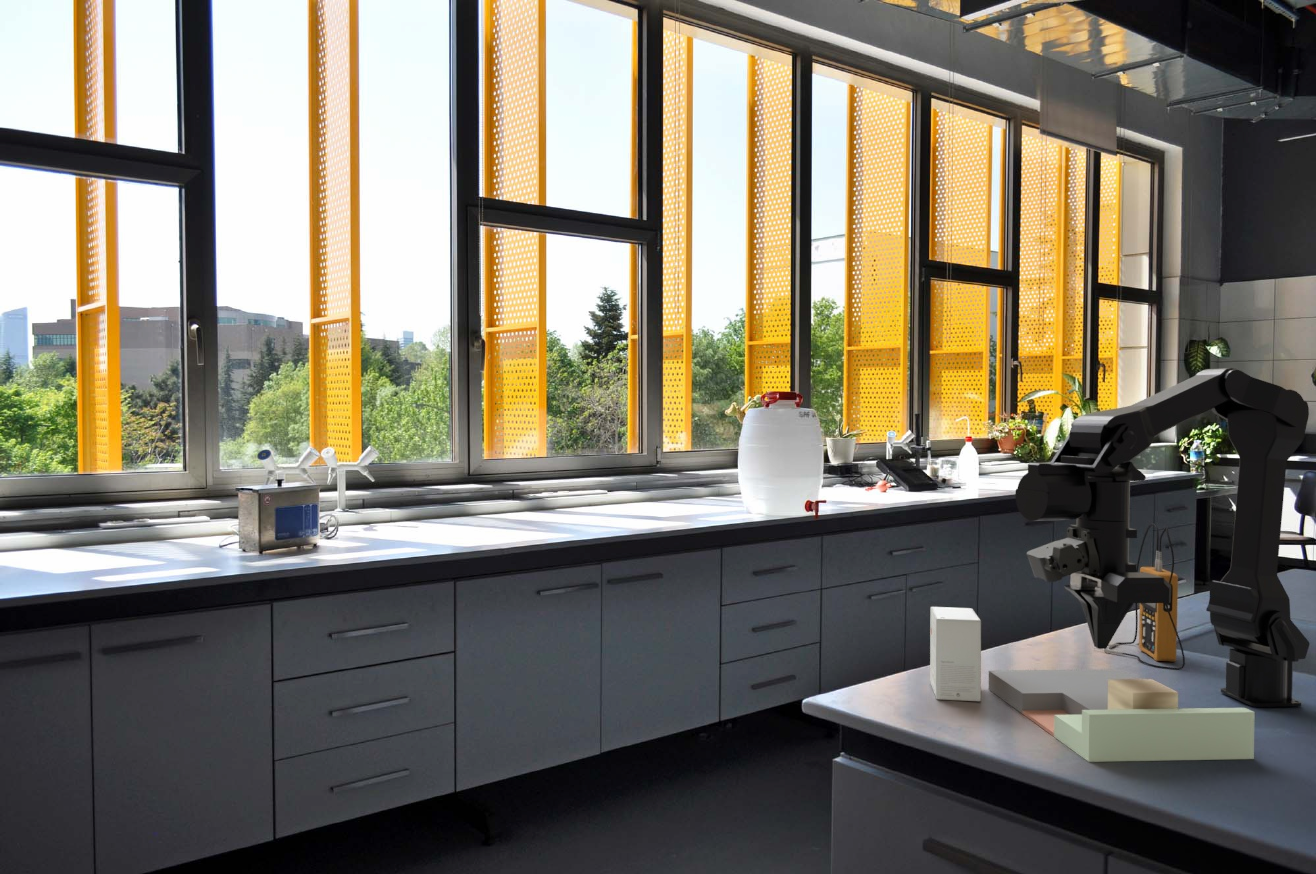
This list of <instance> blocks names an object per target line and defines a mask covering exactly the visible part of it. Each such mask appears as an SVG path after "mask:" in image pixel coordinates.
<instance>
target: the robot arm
mask: <svg viewBox="0 0 1316 874" xmlns="http://www.w3.org/2000/svg"><path fill="white" fill-rule="evenodd" d="M1209 410H1211V412H1212V413H1213V414H1215V415H1217V416H1218V417H1220V418H1222V419H1224V420H1226V421H1227V434H1228V439H1229V440H1230V442H1231V444H1232V446H1233V447H1234V449H1235V452H1236V453H1237V455H1238V456H1239V465H1238V466H1239V467H1238V468H1239V469H1238V478H1237V479H1238V481H1237V491H1236V500H1235V501H1236V504H1235V516H1234V524H1233V525H1234V526H1233V536H1232V548H1231V559H1230V560H1231V561H1230V566H1229V567H1230V568H1229V570H1228V571H1227V573H1225V575H1224V576H1223V577H1222V578H1221V580H1220V581H1219V580H1211V582H1210V584H1209V588H1208V589H1209V598H1208V604H1207V607H1206V609H1205V610H1206V612H1209V620H1210V624H1211V626H1212V627H1213V628H1214V632H1215V635H1216V639H1217V642H1218V645H1220V646H1222V647H1228V648H1229V651H1228V652H1229V656H1228V657H1229V659H1228V660H1226V664H1225V669H1226V670H1225V687H1221V688H1220V693H1222V694H1224V695H1225V696H1227V697H1231V698H1233V699H1235V700H1237V701H1239V702H1241V703H1244V704H1245V705H1248V706H1251V707H1258V708H1263V707H1265V708H1267V707H1268V708H1269V707H1273V708H1274V707H1279V708H1280V707H1301V706H1302V705H1303V704H1302V701H1299V700H1297V699H1296V698H1293V682H1294V681H1293V678H1294V677H1293V676H1294V675H1293V674H1294V672H1293V671H1294V669H1293V668H1294V662H1299V660H1305V659H1306V658H1307V654H1308V651H1309V647H1310V641H1309V640H1308V639H1307V637H1305V635H1304V634H1303V633H1302V632H1301V631H1300V629H1299V628H1298V627H1297V625H1296V624H1295V623H1294V622H1293V620H1292V619H1291V603H1290V597H1289V595H1288V593H1287V591H1286V589H1285V588H1284V586H1283V583H1282V582H1281V580H1280V579H1279V576H1278V567H1279V555H1280V554H1279V553H1280V545H1281V544H1280V542H1281V541H1280V540H1281V531H1282V530H1281V529H1282V519H1283V509H1284V508H1283V507H1284V497H1285V496H1284V495H1285V494H1284V493H1285V484H1286V483H1285V482H1286V472H1287V464H1288V461H1289V459H1290V458H1291V457H1292V455H1293V454H1294V453H1295V452H1296V450H1297V449H1298V447H1300V445H1301V444H1302V443H1303V441H1304V439H1305V434H1306V429H1307V425H1308V420H1309V416H1310V412H1309V411H1310V409H1309V404H1308V402H1307V401H1306V400H1304V398H1303V397H1302V394H1300V392H1298V391H1297V390H1294V389H1290V388H1289V389H1286V388H1284V387H1283V386H1280V385H1278V384H1274V383H1271V382H1268V381H1265V380H1262V379H1259V378H1256V377H1253V376H1250V375H1249V374H1247V373H1246V372H1244V371H1242V370H1239V369H1237V368H1234V367H1224V368H1221V367H1220V368H1206V369H1203V370H1201V371H1199V372H1197V373H1196V374H1194V376H1192V377H1190V378H1188V379H1185V380H1184V381H1182V382H1179V383H1176V384H1175V385H1172V386H1170V387H1167V388H1166V389H1163V390H1162V391H1158V392H1157V393H1155V394H1152V395H1151V396H1148V397H1146V398H1144V399H1142V400H1139V401H1138V402H1135V403H1133V404H1131V405H1129V406H1123V407H1118V408H1112V409H1111V408H1110V409H1104V410H1099V411H1095V412H1091V413H1090V412H1089V413H1087V414H1081V415H1079V416H1078V417H1076V418H1075V419H1074V420H1073V421H1072V422H1071V424H1070V425H1071V428H1070V430H1069V432H1068V435H1067V436H1066V438H1065V440H1064V441H1063V442H1062V444H1061V446H1060V447H1059V448H1058V450H1057V452H1056V453H1055V455H1054V456H1053V458H1052V460H1051V461H1050V463H1043V462H1028V464H1027V473H1025V474H1024V475H1022V477H1021V478H1020V480H1019V482H1018V485H1017V488H1016V489H1015V503H1016V507H1017V509H1018V512H1019V513H1020V515H1021V516H1022V518H1024V519H1025V520H1027V521H1030V522H1038V521H1039V522H1041V521H1068V520H1070V521H1071V520H1076V523H1075V524H1069V525H1068V527H1067V529H1066V537H1065V538H1063V539H1062V538H1061V539H1059V540H1055V541H1051V542H1049V543H1047V544H1044V545H1040V546H1039V547H1036V548H1033V549H1031V550H1028V551H1027V552H1026V556H1027V559H1028V562H1029V564H1030V567H1031V570H1032V573H1033V576H1034V578H1036V579H1042V580H1043V581H1045V583H1054V582H1055V583H1056V582H1059V581H1061V580H1062V579H1063V578H1064V577H1068V576H1070V582H1069V583H1070V584H1066V585H1064V588H1065V590H1066V591H1068V592H1069V593H1071V594H1072V595H1073V596H1074V597H1075V598H1077V600H1078V601H1079V603H1080V605H1081V608H1082V610H1083V613H1084V618H1085V620H1086V623H1087V627H1088V630H1089V633H1090V636H1091V639H1092V643H1093V646H1094V648H1098V649H1106V648H1107V647H1108V645H1110V643H1111V641H1112V639H1113V638H1114V636H1115V634H1116V633H1117V631H1118V629H1119V627H1120V626H1121V624H1122V622H1123V621H1124V618H1125V617H1126V616H1127V615H1128V613H1129V612H1130V610H1131V608H1132V607H1133V606H1134V604H1135V603H1137V604H1140V603H1170V602H1171V585H1170V584H1169V583H1168V582H1167V581H1166V580H1165V579H1164V578H1163V577H1160V576H1156V575H1153V574H1150V573H1146V572H1140V571H1138V572H1136V568H1137V563H1134V562H1129V559H1130V556H1129V555H1130V553H1129V552H1130V549H1129V548H1130V539H1137V538H1138V529H1136V528H1131V527H1130V506H1131V505H1130V500H1131V498H1130V497H1131V492H1130V491H1131V482H1144V481H1145V480H1146V479H1147V477H1146V475H1145V474H1144V473H1143V472H1142V471H1140V470H1139V469H1138V468H1137V467H1136V466H1135V465H1134V463H1133V462H1132V461H1133V460H1134V459H1135V458H1137V457H1139V455H1140V454H1142V453H1143V452H1145V451H1146V450H1148V449H1149V448H1150V446H1151V445H1152V443H1153V441H1154V439H1155V437H1157V436H1159V435H1160V434H1161V433H1164V432H1165V431H1167V430H1170V429H1172V428H1173V427H1175V426H1178V425H1180V424H1183V423H1185V422H1187V421H1188V420H1191V419H1193V418H1195V417H1197V416H1199V415H1201V414H1203V413H1206V412H1208V411H1209ZM1098 649H1097V650H1098ZM1107 649H1108V648H1107Z"/></svg>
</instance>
